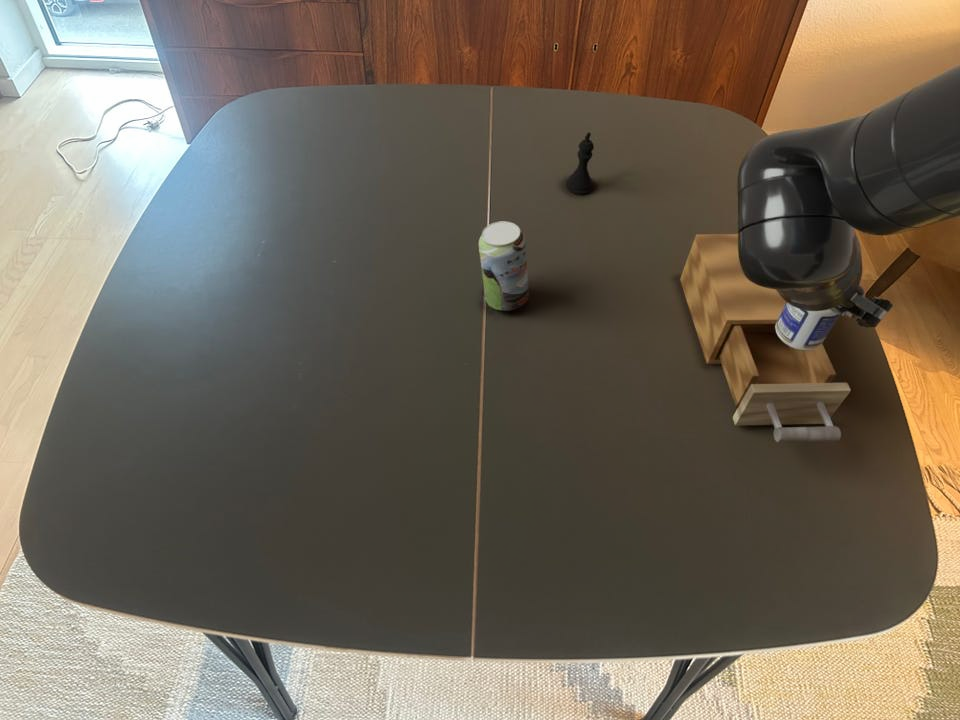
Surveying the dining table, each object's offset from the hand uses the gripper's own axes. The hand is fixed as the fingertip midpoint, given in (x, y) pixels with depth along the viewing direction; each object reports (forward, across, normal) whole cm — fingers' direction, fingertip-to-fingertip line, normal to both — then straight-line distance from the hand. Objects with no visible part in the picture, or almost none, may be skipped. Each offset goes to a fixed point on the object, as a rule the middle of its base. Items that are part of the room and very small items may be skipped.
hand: (825, 293), depth 77 cm
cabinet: (+18, +10, +7) cm, 21 cm away
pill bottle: (+3, 0, +5) cm, 6 cm away
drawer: (+11, -1, +13) cm, 17 cm away
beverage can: (+3, +34, +23) cm, 41 cm away
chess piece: (+22, +44, +4) cm, 49 cm away
